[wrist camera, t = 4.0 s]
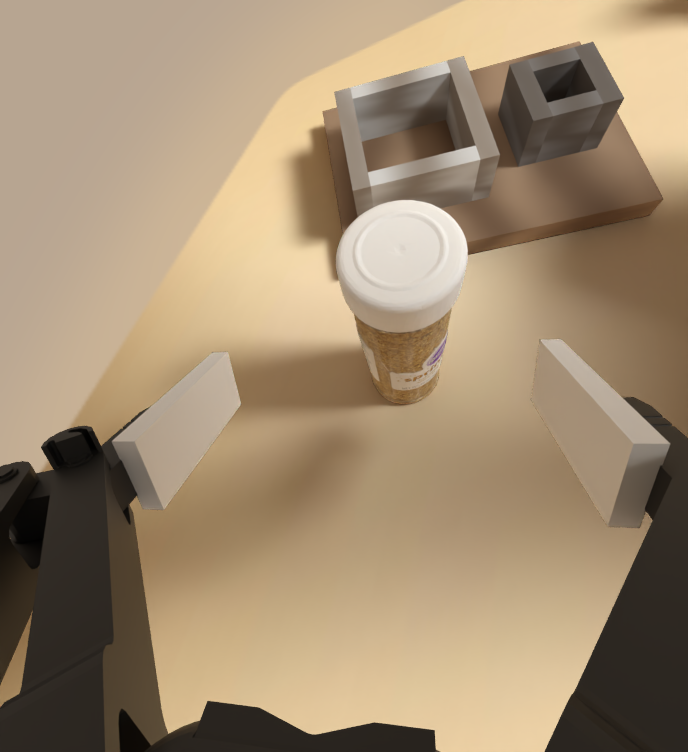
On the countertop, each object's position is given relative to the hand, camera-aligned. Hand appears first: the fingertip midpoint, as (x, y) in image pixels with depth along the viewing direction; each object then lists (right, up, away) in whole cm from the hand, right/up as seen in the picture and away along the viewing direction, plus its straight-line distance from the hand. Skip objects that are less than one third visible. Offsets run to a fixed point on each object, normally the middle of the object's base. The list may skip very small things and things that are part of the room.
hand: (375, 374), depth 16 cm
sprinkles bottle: (+3, 0, +9) cm, 10 cm away
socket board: (+8, +17, +13) cm, 23 cm away
